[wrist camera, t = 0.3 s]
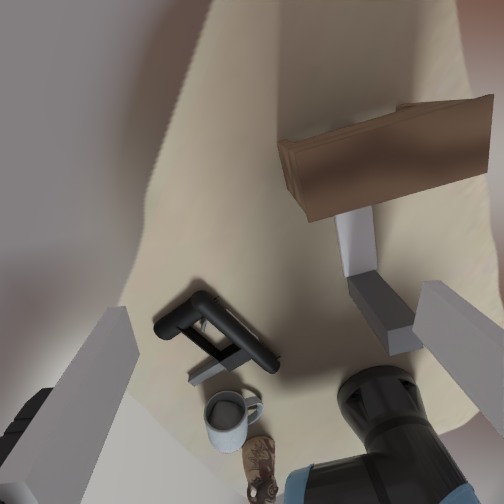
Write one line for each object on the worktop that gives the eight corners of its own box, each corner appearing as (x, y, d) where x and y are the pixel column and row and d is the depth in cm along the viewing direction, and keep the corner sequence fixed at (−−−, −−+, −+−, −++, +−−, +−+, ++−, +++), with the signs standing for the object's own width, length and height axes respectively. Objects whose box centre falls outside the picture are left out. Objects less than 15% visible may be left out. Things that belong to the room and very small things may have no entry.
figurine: (276, 453, 63) (285, 523, 52) (244, 458, 63) (247, 529, 52) (273, 433, 60) (282, 503, 49) (239, 438, 60) (241, 509, 49)
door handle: (216, 407, 52) (287, 367, 48) (130, 344, 45) (205, 291, 41) (217, 390, 55) (285, 352, 51) (137, 330, 48) (208, 278, 44)
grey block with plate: (377, 287, 46) (427, 346, 34) (346, 295, 46) (385, 357, 34) (368, 191, 39) (426, 224, 27) (331, 202, 39) (374, 239, 27)
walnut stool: (409, 155, 37) (487, 172, 26) (286, 190, 38) (309, 222, 27) (407, 101, 34) (494, 94, 23) (274, 141, 35) (294, 153, 24)
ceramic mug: (210, 420, 57) (208, 462, 50) (205, 392, 53) (201, 433, 47) (263, 414, 57) (268, 454, 51) (261, 385, 54) (266, 425, 47)
